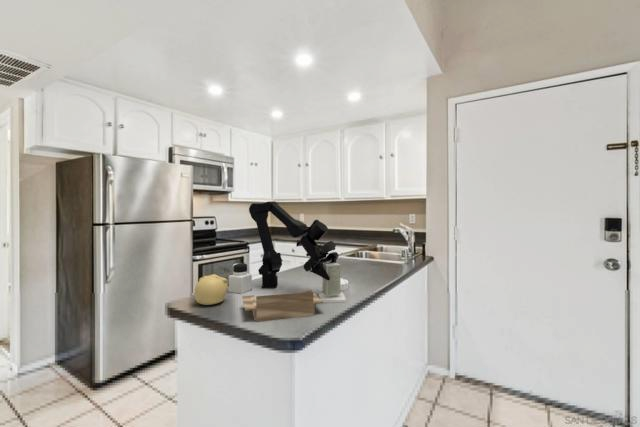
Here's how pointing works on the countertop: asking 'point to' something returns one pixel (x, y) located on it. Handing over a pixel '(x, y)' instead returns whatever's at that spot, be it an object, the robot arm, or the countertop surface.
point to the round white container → (342, 284)
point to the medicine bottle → (240, 279)
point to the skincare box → (332, 279)
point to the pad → (332, 298)
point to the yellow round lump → (211, 289)
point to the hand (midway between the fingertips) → (334, 277)
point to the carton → (281, 305)
